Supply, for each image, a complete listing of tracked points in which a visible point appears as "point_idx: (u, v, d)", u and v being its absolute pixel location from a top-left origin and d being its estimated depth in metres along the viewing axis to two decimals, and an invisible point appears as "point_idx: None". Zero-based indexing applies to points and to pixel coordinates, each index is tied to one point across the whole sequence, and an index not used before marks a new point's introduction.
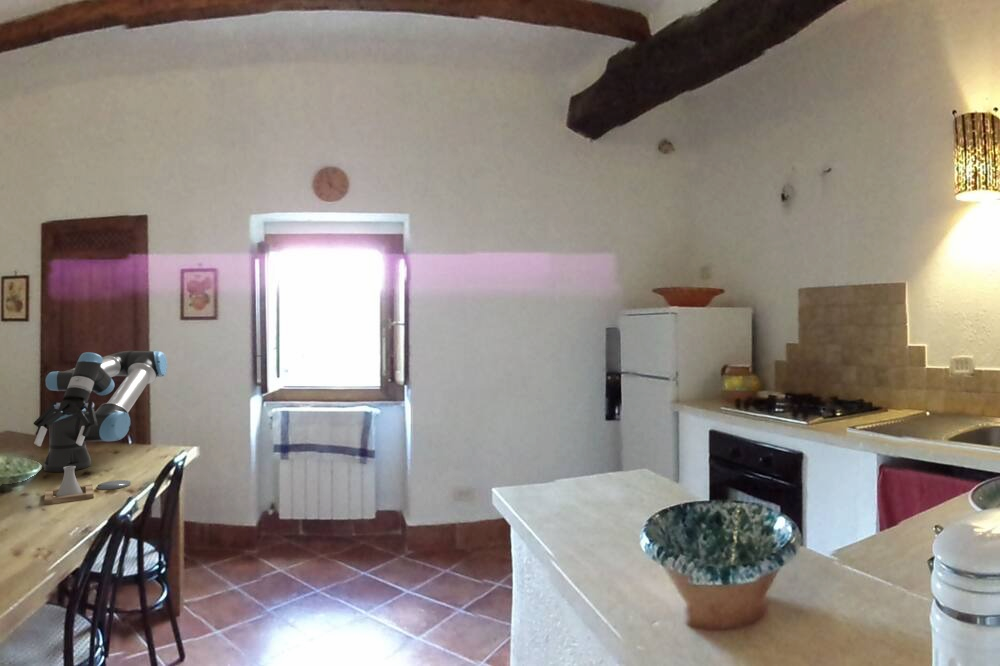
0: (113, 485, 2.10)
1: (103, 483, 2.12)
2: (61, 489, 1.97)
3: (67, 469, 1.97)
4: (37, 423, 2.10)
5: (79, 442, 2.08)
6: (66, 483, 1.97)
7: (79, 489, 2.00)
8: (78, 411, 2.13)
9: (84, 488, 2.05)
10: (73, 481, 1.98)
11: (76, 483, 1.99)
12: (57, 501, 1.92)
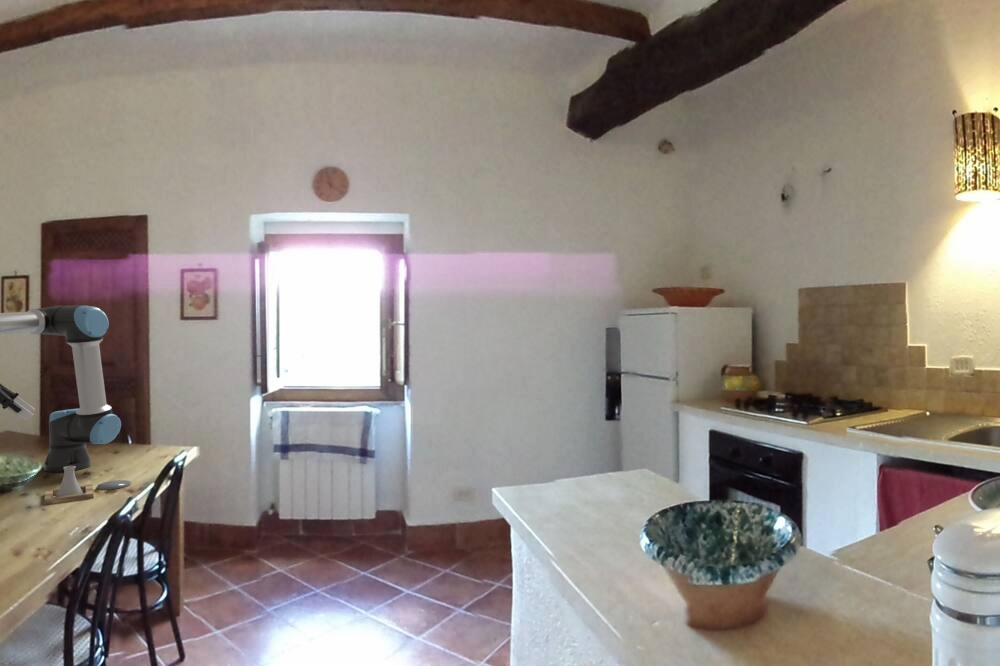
0: (113, 485, 2.10)
1: (103, 483, 2.12)
2: (61, 489, 1.97)
3: (67, 469, 1.97)
4: None
5: (26, 418, 1.86)
6: (66, 483, 1.97)
7: (79, 489, 2.00)
8: None
9: (84, 488, 2.05)
10: (73, 481, 1.98)
11: (76, 483, 1.99)
12: (57, 501, 1.92)
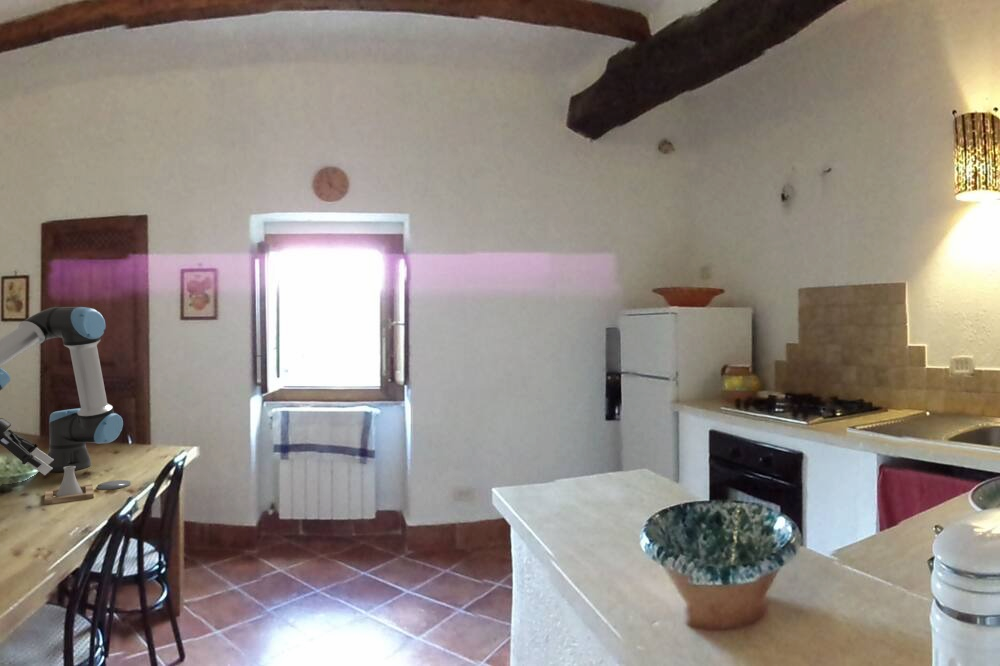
0: (113, 485, 2.10)
1: (103, 483, 2.12)
2: (61, 489, 1.97)
3: (67, 469, 1.97)
4: (27, 449, 1.98)
5: (45, 472, 1.89)
6: (66, 483, 1.97)
7: (79, 489, 2.00)
8: None
9: (84, 488, 2.05)
10: (73, 481, 1.98)
11: (76, 483, 1.99)
12: (57, 501, 1.92)
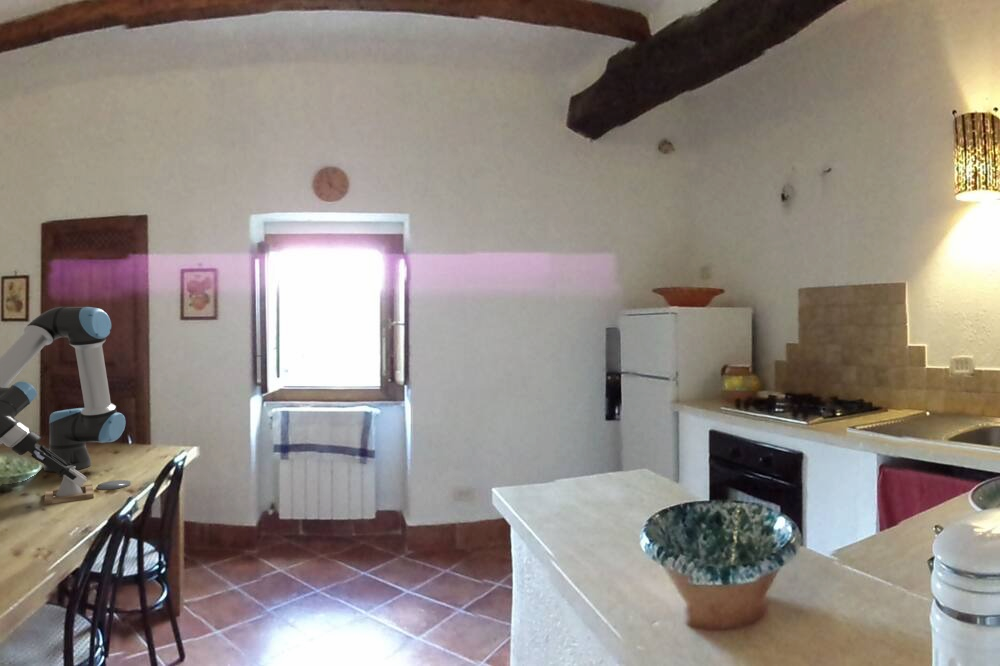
0: (113, 485, 2.10)
1: (103, 483, 2.12)
2: (61, 489, 1.97)
3: None
4: None
5: (80, 484, 1.99)
6: (66, 483, 1.97)
7: (79, 489, 2.00)
8: None
9: (84, 488, 2.05)
10: None
11: None
12: (57, 501, 1.92)
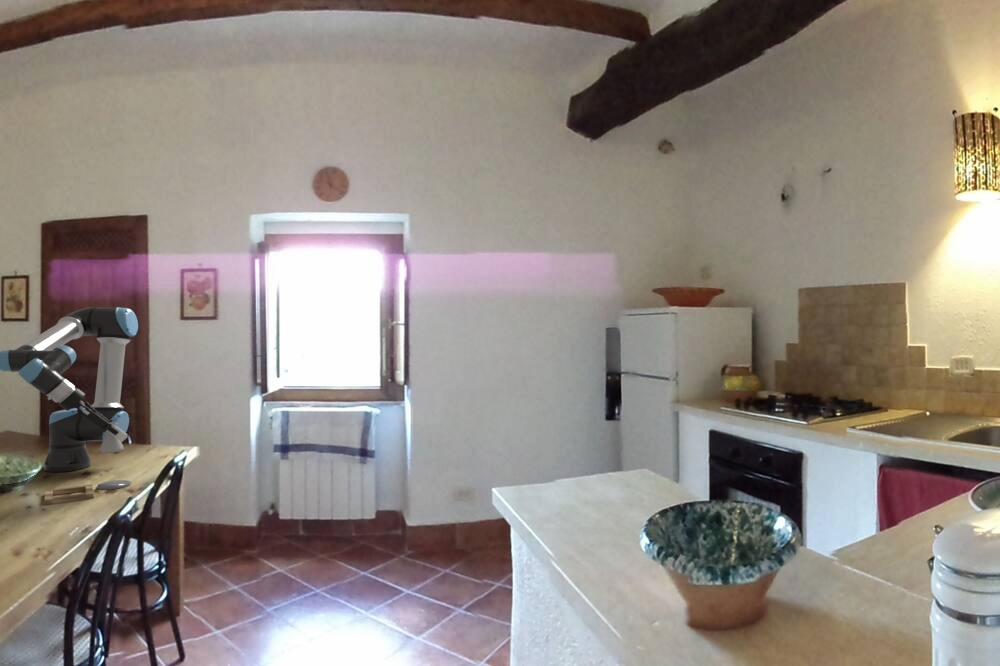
0: (113, 485, 2.10)
1: (103, 483, 2.12)
2: (104, 444, 2.08)
3: None
4: None
5: (122, 439, 2.10)
6: (109, 438, 2.08)
7: (120, 444, 2.11)
8: None
9: (84, 488, 2.05)
10: None
11: None
12: (57, 501, 1.92)
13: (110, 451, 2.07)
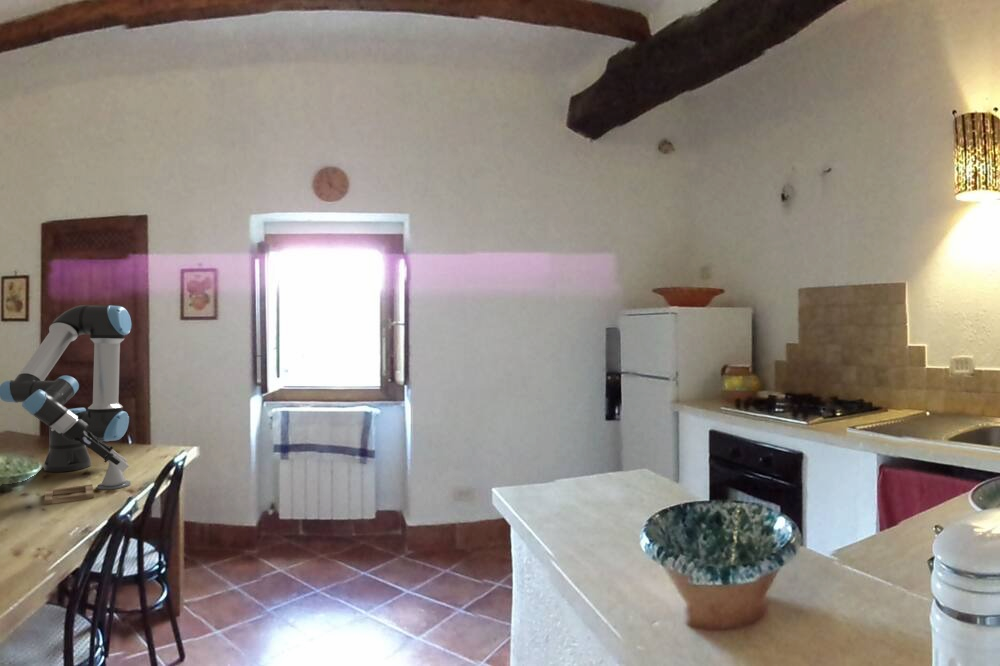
0: None
1: None
2: (106, 477, 2.09)
3: None
4: None
5: (123, 469, 2.09)
6: (111, 471, 2.10)
7: (123, 477, 2.13)
8: None
9: (84, 488, 2.05)
10: (117, 469, 2.11)
11: (120, 471, 2.12)
12: (57, 501, 1.92)
13: (113, 484, 2.09)
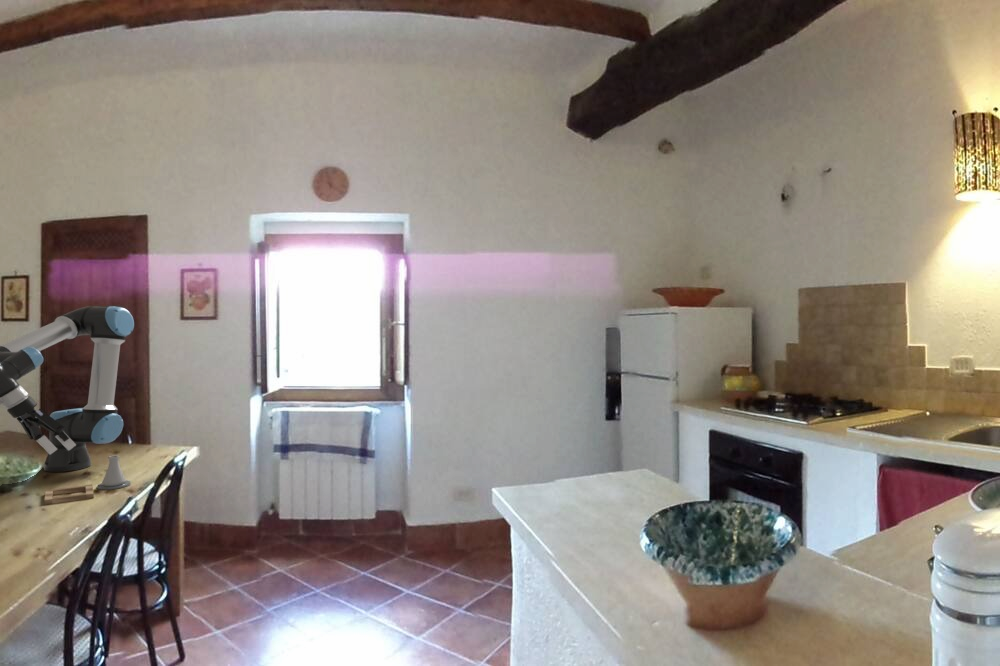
0: None
1: None
2: (106, 477, 2.09)
3: (112, 458, 2.10)
4: (32, 437, 2.06)
5: (70, 447, 2.01)
6: (111, 471, 2.10)
7: (123, 477, 2.13)
8: (38, 424, 1.97)
9: (84, 488, 2.05)
10: (117, 470, 2.11)
11: (120, 471, 2.12)
12: (57, 501, 1.92)
13: (113, 484, 2.09)
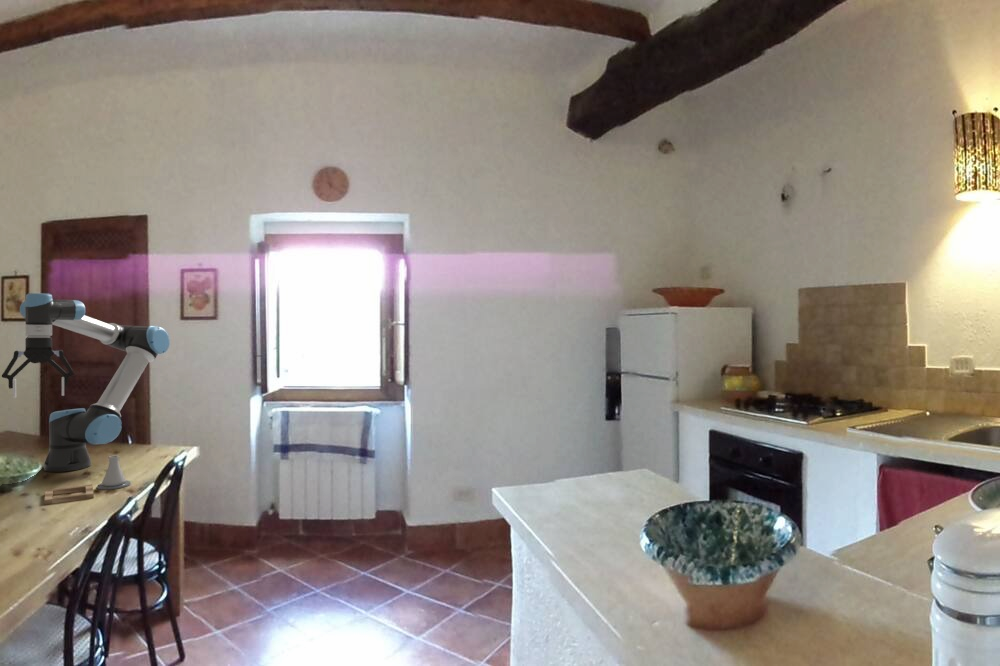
0: None
1: None
2: (106, 477, 2.09)
3: (112, 458, 2.10)
4: (6, 376, 2.04)
5: None
6: (111, 471, 2.10)
7: (123, 477, 2.13)
8: (51, 362, 2.11)
9: (84, 488, 2.05)
10: (117, 470, 2.11)
11: (120, 471, 2.12)
12: (57, 501, 1.92)
13: (113, 484, 2.09)
